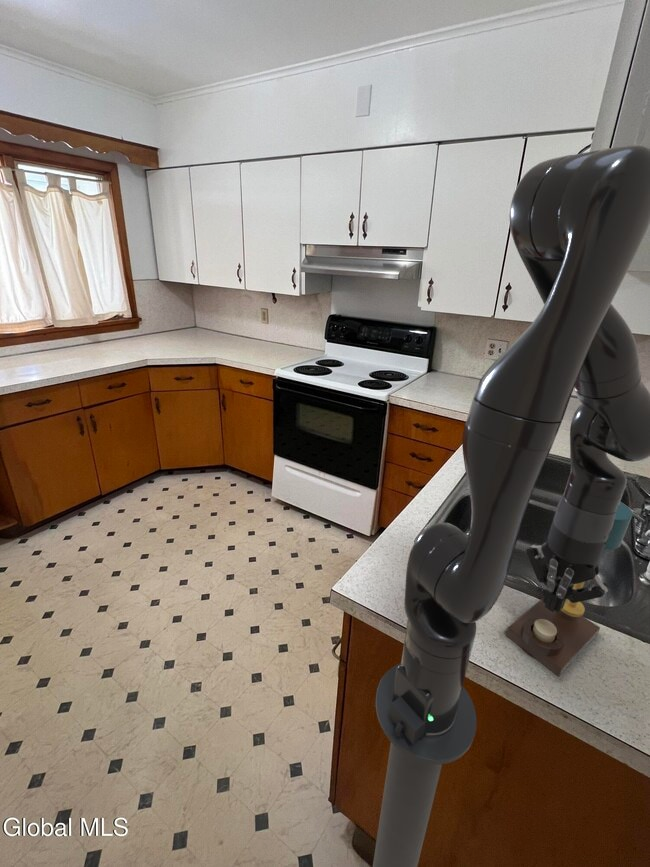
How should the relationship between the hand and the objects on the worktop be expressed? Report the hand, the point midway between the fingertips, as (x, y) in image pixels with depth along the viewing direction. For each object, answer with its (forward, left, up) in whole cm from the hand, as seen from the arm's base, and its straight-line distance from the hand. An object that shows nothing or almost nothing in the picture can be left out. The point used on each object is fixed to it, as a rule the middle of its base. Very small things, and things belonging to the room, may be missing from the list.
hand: (551, 608), depth 72 cm
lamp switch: (0, 0, -7) cm, 6 cm away
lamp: (+10, 0, -6) cm, 11 cm away
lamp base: (+5, 0, -10) cm, 11 cm away
